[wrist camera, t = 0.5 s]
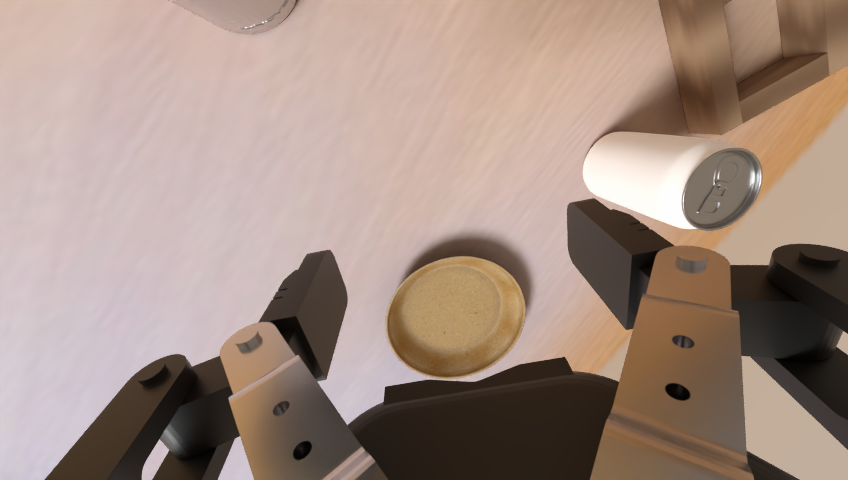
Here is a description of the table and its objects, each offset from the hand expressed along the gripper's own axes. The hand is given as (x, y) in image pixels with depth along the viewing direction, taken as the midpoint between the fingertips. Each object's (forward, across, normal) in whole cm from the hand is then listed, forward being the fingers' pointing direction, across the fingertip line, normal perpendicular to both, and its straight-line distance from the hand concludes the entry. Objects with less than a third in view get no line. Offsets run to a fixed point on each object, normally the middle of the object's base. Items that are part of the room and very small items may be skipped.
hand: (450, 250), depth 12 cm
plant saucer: (+20, +1, +19) cm, 28 cm away
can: (+23, -17, +7) cm, 30 cm away
